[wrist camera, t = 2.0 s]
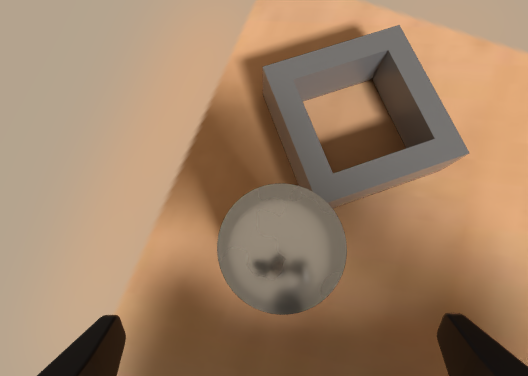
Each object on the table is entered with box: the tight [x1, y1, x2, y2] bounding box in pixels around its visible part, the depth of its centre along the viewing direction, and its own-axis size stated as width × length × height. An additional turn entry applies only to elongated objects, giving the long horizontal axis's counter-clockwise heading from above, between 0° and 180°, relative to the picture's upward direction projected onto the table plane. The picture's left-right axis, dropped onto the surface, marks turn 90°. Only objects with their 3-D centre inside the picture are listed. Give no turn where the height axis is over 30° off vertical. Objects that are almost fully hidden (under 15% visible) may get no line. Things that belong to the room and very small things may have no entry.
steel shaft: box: [217, 183, 347, 315], centre depth 17 cm, size 5×5×10 cm
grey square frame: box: [263, 25, 469, 208], centre depth 23 cm, size 10×10×4 cm
